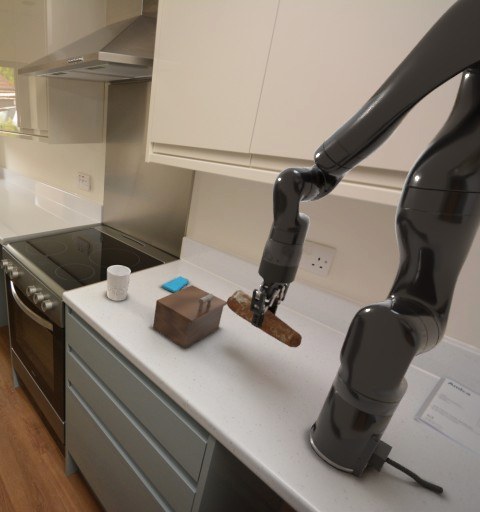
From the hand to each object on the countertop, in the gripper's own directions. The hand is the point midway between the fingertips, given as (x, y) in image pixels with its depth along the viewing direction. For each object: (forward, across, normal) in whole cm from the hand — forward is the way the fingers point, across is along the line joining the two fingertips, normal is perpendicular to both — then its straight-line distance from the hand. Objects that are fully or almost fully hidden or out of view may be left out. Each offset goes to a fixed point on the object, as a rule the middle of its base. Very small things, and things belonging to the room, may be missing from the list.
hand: (262, 321), depth 82 cm
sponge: (+14, +19, +39) cm, 46 cm away
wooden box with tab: (+5, 0, +20) cm, 20 cm away
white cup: (+14, -5, +46) cm, 48 cm away
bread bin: (+14, 0, +20) cm, 24 cm away
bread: (+2, 0, 0) cm, 2 cm away
